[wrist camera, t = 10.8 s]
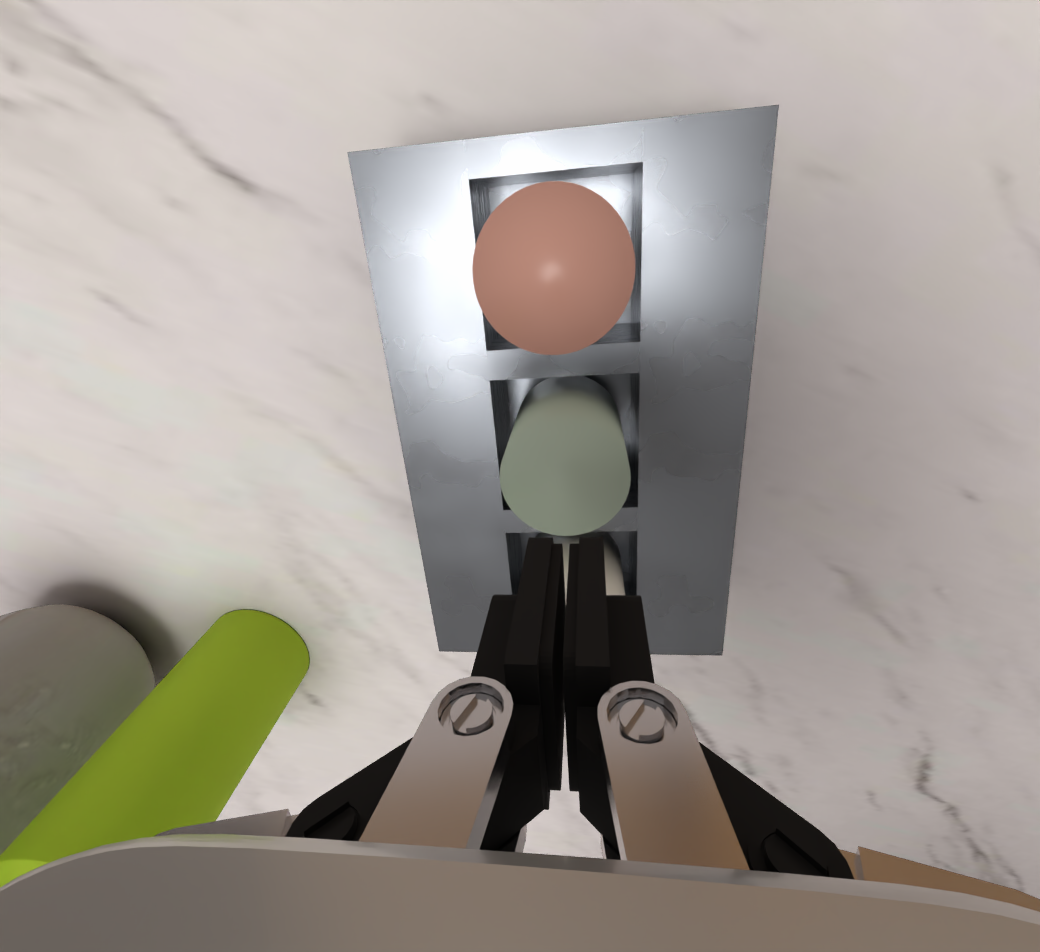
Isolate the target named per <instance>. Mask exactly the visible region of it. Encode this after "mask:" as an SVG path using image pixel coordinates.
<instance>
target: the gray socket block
mask: <svg viewBox="0 0 1040 952" xmlns="http://www.w3.org/2000/svg"><path fill="white" fill-rule="evenodd" d="M778 108H779V105H772V106H763V107H754V108H745V109H735V110H726V111H717V112H708V113H699V114H690V115H681V116H672V117H663V118H654V119H645V120H636V121H627V122H618V123H609V124H599V125H590V126H581V127H572V128H563V129H554V130H545V131H536V132H527V133H518V134H509V135H500V136H491V137H482V138H473V139H463V140H454V141H445V142H436V143H427V144H418V145H409V146H400V147H391V148H382V149H373V150H364V151H355V152H348V158H349V163H350V169H351V174H352V180H353V185H354V190H355V196H356V201H357V207H358V212H359V218H360V223H361V228H362V234H363V239H364V245H365V250H366V256H367V261H368V266H369V272H370V277H371V283H372V288H373V294H374V299H375V305H376V310H377V315H378V321H379V326H380V332H381V337H382V343H383V348H384V353H385V359H386V364H387V370H388V375H389V381H390V386H391V392H392V397H393V402H394V408H395V413H396V419H397V424H398V430H399V435H400V440H401V446H402V451H403V457H404V462H405V468H406V473H407V478H408V484H409V489H410V495H411V500H412V506H413V511H414V517H415V522H416V527H417V533H418V538H419V544H420V549H421V555H422V560H423V565H424V571H425V576H426V582H427V587H428V593H429V598H430V604H431V609H432V614H433V620H434V625H435V631H436V636H437V642H438V647H439V651H453V652H477V651H478V647H479V644H480V640H481V636H482V633H483V629H484V625H485V621H486V618H487V614H488V610H489V606H490V603H491V599H492V597H493V595H494V594H503V595H517V593H518V588H519V583H520V578H521V573H522V568H523V563H524V558H525V553H526V547H527V542H528V538H529V537H535V536H536V535H537V534H538V533H539V532H541V531H539V530H536V529H534V528H532V527H531V526H529V525H527V524H526V523H524V522H523V521H522V520H521V519H520V518H518V517H517V516H516V515H515V514H514V512H513V511H512V510H511V509H510V507H509V506H508V504H507V502H506V500H505V498H504V496H503V493H502V490H501V485H500V466H501V462H502V459H503V456H504V453H505V450H506V447H507V444H508V441H509V438H510V435H511V432H512V429H513V426H514V423H515V420H516V417H517V414H518V411H519V408H520V406H521V404H522V402H523V400H524V398H525V396H526V395H527V394H528V393H529V391H530V390H531V389H533V388H534V387H535V386H536V385H537V384H539V383H540V382H542V381H544V380H546V379H548V378H551V377H567V376H583V377H587V378H589V379H591V380H593V381H595V382H597V383H599V384H600V385H601V386H602V387H604V388H605V389H606V390H607V391H608V392H609V394H610V395H611V396H612V398H613V399H614V401H615V403H616V405H617V408H618V412H619V416H620V421H621V426H622V431H623V436H624V441H625V446H626V451H627V456H628V461H629V466H630V474H631V481H630V489H629V493H628V496H627V498H626V501H625V503H624V504H623V506H622V508H621V509H620V510H619V512H618V513H617V514H616V515H615V516H614V517H613V518H612V519H611V520H610V521H609V522H607V523H606V524H605V525H603V526H601V527H600V528H598V529H595V530H593V531H591V532H603V531H606V532H607V533H608V534H609V535H610V536H611V537H612V538H613V539H614V541H615V542H616V544H617V546H618V549H619V551H620V556H621V564H622V573H623V581H624V590H625V595H640V596H641V598H642V604H643V611H644V617H645V624H646V631H647V638H648V644H649V651H650V654H662V655H722V653H723V643H724V633H725V624H726V614H727V604H728V595H729V585H730V575H731V565H732V556H733V546H734V536H735V526H736V517H737V507H738V497H739V487H740V478H741V468H742V458H743V448H744V439H745V429H746V419H747V409H748V400H749V390H750V380H751V370H752V361H753V351H754V341H755V332H756V322H757V312H758V302H759V293H760V283H761V273H762V263H763V254H764V244H765V234H766V224H767V215H768V205H769V195H770V185H771V176H772V166H773V156H774V146H775V137H776V127H777V117H778ZM547 181H563V182H571V183H574V184H578V185H581V186H584V187H586V188H588V189H590V190H592V191H594V192H595V193H597V194H599V195H600V196H602V197H603V198H604V199H605V200H606V201H607V202H609V203H610V204H611V205H612V207H613V208H614V209H615V210H616V211H617V212H618V214H619V215H620V217H621V218H622V220H623V221H624V223H625V225H626V227H627V230H628V232H629V234H630V237H631V240H632V243H633V248H634V254H635V279H634V285H633V290H632V293H631V296H630V299H629V302H628V304H627V306H626V308H625V310H624V312H623V314H622V315H621V317H620V318H619V320H618V321H617V322H616V324H615V325H614V326H613V327H612V329H611V330H609V331H608V332H607V333H606V334H605V335H604V336H603V337H602V338H600V339H599V340H598V341H596V342H595V343H593V344H591V345H590V346H588V347H586V348H583V349H581V350H578V351H576V352H572V353H568V354H561V355H543V354H536V353H533V352H529V351H526V350H524V349H521V348H519V347H517V346H515V345H514V344H512V343H510V342H509V341H507V340H506V339H505V338H504V337H502V336H501V335H500V334H499V333H498V332H497V331H496V330H495V329H494V328H493V327H492V325H491V324H490V323H489V321H488V320H487V318H486V317H485V315H484V313H483V312H482V310H481V307H480V305H479V303H478V300H477V297H476V293H475V290H474V284H473V273H472V265H473V255H474V250H475V246H476V242H477V239H478V236H479V234H480V232H481V230H482V228H483V225H484V224H485V222H486V221H487V219H488V218H489V216H490V215H491V213H492V212H493V211H494V210H495V209H496V207H497V206H498V205H499V204H501V203H502V202H503V201H504V200H505V199H506V198H507V197H509V196H510V195H512V194H513V193H515V192H516V191H518V190H520V189H523V188H525V187H527V186H530V185H533V184H536V183H541V182H547Z"/></svg>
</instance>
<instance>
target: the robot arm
mask: <svg viewBox="0 0 1040 952" xmlns="http://www.w3.org/2000/svg"><path fill="white" fill-rule="evenodd" d="M564 717H565V720H566V737H567V755H568V772H569V788H570V791H578V792H579V800H580V812H581V813H582V814H583V815H584V817H585V818H586V819H587V820H588V821H589V822H590V823H591V824H592V825H593V826H594V827H595V828H596V829H597V830H598V831H599V832H600V833H601V849H602V855H603V859H599V858H586V857H572V856H559V855H545V854H532V853H523V849H524V845H525V841H526V832H527V825H526V824H527V823H529V822H530V821H531V820H532V819H533V818H534V817H536V816H537V815H538V814H539V813H540V812H541V811H543V810H544V809H545V810H549V800H550V790H561V778H562V758H563V737H564ZM0 952H1040V899H1038V898H1035V897H1033V896H1030V895H1028V894H1025V893H1023V892H1021V891H1018V890H1016V889H1012V888H1008V887H1005V886H1001V885H997V884H994V883H990V882H987V881H983V880H979V879H976V878H972V877H968V876H965V875H961V874H957V873H954V872H950V871H947V870H943V869H939V868H936V867H932V866H928V865H925V864H921V863H917V862H914V861H910V860H906V859H903V858H899V857H896V856H892V855H888V854H885V853H881V852H877V851H874V850H870V849H866V848H863V847H859V846H858V849H857V853H856V854H855V853H851V852H848V851H844V850H840V849H838V848H837V847H836V845H835V844H834V843H833V842H832V841H831V840H830V839H828V838H827V837H826V836H825V835H824V834H823V833H822V832H821V831H820V830H818V829H817V828H816V827H814V826H813V825H812V824H810V823H809V822H807V821H806V820H805V819H803V818H802V817H801V816H799V815H798V814H797V813H795V812H794V811H793V810H791V809H790V808H788V807H787V806H786V805H784V804H783V803H782V802H780V801H779V800H778V799H776V798H775V797H773V796H772V795H771V794H769V793H768V792H767V791H765V790H764V789H763V788H761V787H760V786H758V785H757V784H756V783H754V782H753V781H752V780H750V779H749V778H748V777H746V776H745V775H743V774H742V773H741V772H739V771H738V770H737V769H735V768H734V767H733V766H731V765H730V764H728V763H727V762H726V761H724V760H723V759H722V758H720V757H719V756H718V755H716V754H715V753H714V752H712V751H711V750H709V749H708V748H707V747H705V746H704V745H703V744H701V743H700V742H699V741H698V739H697V736H696V734H695V731H694V729H693V726H692V724H691V721H690V719H689V716H688V714H687V711H686V709H685V708H684V706H683V704H682V703H681V701H680V700H679V699H678V698H677V697H676V696H675V695H674V694H673V693H672V692H671V691H669V690H667V689H665V688H663V687H661V686H660V685H657V684H654V678H653V671H652V664H651V658H650V651H649V644H648V638H647V631H646V624H645V617H644V611H643V604H642V598H641V596H640V595H606V579H605V560H604V541H603V537H579V543H570V546H569V563H568V579H567V596H566V601H565V582H564V562H563V546H562V544H554V542H553V537H529V538H528V542H527V547H526V553H525V558H524V563H523V568H522V573H521V578H520V583H519V588H518V593H517V595H503V594H494V595H493V597H492V599H491V603H490V606H489V610H488V614H487V618H486V621H485V625H484V629H483V633H482V636H481V640H480V644H479V647H478V651H477V655H476V659H475V662H474V666H473V670H472V674H471V677H467V678H463V679H459V680H457V681H455V682H453V683H450V684H448V685H447V686H446V687H445V688H443V689H442V690H441V691H440V692H439V693H438V694H437V695H436V697H435V698H434V699H433V701H432V702H431V704H430V706H429V708H428V710H427V712H426V714H425V716H424V718H423V719H422V721H421V723H420V725H419V727H418V729H417V731H416V733H415V735H414V737H413V738H411V739H409V740H408V741H406V742H405V743H403V744H402V745H400V746H398V747H397V748H395V749H394V750H392V751H391V752H389V753H388V754H386V755H384V756H383V757H381V758H380V759H378V760H377V761H375V762H373V763H372V764H370V765H369V766H367V767H366V768H364V769H362V770H361V771H359V772H358V773H356V774H355V775H353V776H352V777H350V778H348V779H347V780H345V781H344V782H342V783H341V784H339V785H337V786H336V787H334V788H333V789H331V790H330V791H328V792H326V793H325V794H323V795H322V796H320V797H319V798H317V799H316V800H315V801H313V802H312V803H311V804H309V805H308V806H307V807H306V808H304V809H303V810H302V812H301V813H300V814H298V815H292V816H291V815H290V812H289V809H284V810H278V811H273V812H267V813H261V814H255V815H249V816H243V817H237V818H231V819H225V820H220V821H214V822H208V823H202V824H196V825H190V826H184V827H178V828H174V829H171V830H168V831H165V832H162V833H159V834H157V835H155V836H154V837H145V838H138V839H132V840H127V841H122V842H117V843H111V844H106V845H102V846H99V847H96V848H92V849H89V850H86V851H83V852H79V853H76V854H73V855H70V856H66V857H63V858H60V859H57V860H55V861H52V862H50V863H47V864H45V865H43V866H40V867H38V868H36V869H34V870H31V871H29V872H27V873H25V874H23V875H21V876H19V877H17V878H15V879H13V880H12V881H10V882H9V883H7V884H5V885H4V886H2V887H0Z"/></svg>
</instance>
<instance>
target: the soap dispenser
mask: <svg viewBox="0 0 1040 952" xmlns="http://www.w3.org/2000/svg"><path fill="white" fill-rule="evenodd" d="M308 667H309V654H308V650H307V647H306V645H305V643H304V642H303V640H302V639H301V637H300V636H299V635H298V634H297V632H296V631H295V630H294V629H292V628H291V627H290V626H289V625H288V624H286V623H285V622H283V621H282V620H280V619H278V618H276V617H274V616H272V615H269V614H267V613H264V612H260V611H255V610H237V611H232V612H229V613H227V614H225V615H223V616H222V617H220V618H219V619H218V620H217V621H216V622H215V623H214V624H213V625H212V626H211V627H210V629H209V630H208V631H207V632H206V633H205V634H204V635H203V636H202V637H201V638H200V639H199V640H198V642H197V643H196V644H195V645H194V646H193V647H192V648H191V649H190V650H189V651H188V652H187V653H186V655H185V656H184V657H183V658H182V659H181V660H180V661H179V662H178V663H177V664H176V665H175V666H174V668H173V669H172V670H171V671H170V672H169V673H168V674H167V675H166V676H165V677H164V678H163V680H162V681H161V682H160V683H159V684H158V685H157V686H156V687H155V688H154V689H153V690H152V691H151V693H150V694H149V695H148V696H147V697H146V698H145V699H144V700H143V701H142V702H141V703H140V704H139V706H138V707H137V708H136V709H135V710H134V711H133V712H132V713H131V714H130V715H129V716H128V717H127V719H126V720H125V721H124V722H123V723H122V724H121V725H120V726H119V727H118V728H117V729H116V730H115V732H114V733H113V734H112V735H111V736H110V737H109V738H108V739H107V740H106V741H105V742H104V743H103V745H102V746H101V747H100V748H99V749H98V750H97V751H96V752H95V753H94V754H93V755H92V756H91V758H90V759H89V760H88V761H87V762H86V763H85V764H84V765H83V766H82V767H81V768H80V769H79V771H78V772H77V773H76V774H75V775H74V776H73V777H72V778H71V779H70V780H69V781H68V783H67V784H66V785H65V786H64V787H63V788H62V789H61V790H60V791H59V792H58V793H57V794H56V796H55V797H54V798H53V799H52V800H51V801H50V802H49V803H48V804H47V805H46V806H45V807H44V809H43V810H42V811H41V812H40V813H39V814H38V815H37V816H36V817H35V818H34V819H33V820H32V822H31V823H30V824H29V825H28V826H27V827H26V828H25V829H24V830H23V831H22V832H21V833H20V835H19V836H18V837H17V838H16V839H15V840H14V841H13V842H12V843H11V844H10V845H9V846H8V848H7V849H6V850H5V851H4V852H3V853H2V854H1V855H0V887H2V886H4V885H5V884H7V883H9V882H10V881H12V880H13V879H15V878H17V877H19V876H21V875H23V874H25V873H27V872H29V871H31V870H34V869H36V868H38V867H40V866H43V865H45V864H47V863H50V862H52V861H55V860H57V859H60V858H63V857H66V856H70V855H73V854H76V853H79V852H83V851H86V850H89V849H92V848H96V847H99V846H102V845H106V844H111V843H117V842H122V841H127V840H132V839H138V838H145V837H154V836H155V835H157V834H159V833H162V832H165V831H168V830H171V829H174V828H178V827H184V826H190V825H196V824H202V823H208V822H214V821H216V819H217V818H218V816H219V814H220V813H221V811H222V810H223V808H224V806H225V805H226V803H227V801H228V800H229V798H230V797H231V795H232V793H233V792H234V790H235V788H236V787H237V785H238V784H239V782H240V780H241V779H242V777H243V775H244V774H245V772H246V770H247V769H248V767H249V766H250V764H251V762H252V761H253V759H254V757H255V756H256V754H257V753H258V751H259V749H260V748H261V746H262V744H263V743H264V741H265V740H266V738H267V736H268V735H269V733H270V731H271V730H272V728H273V727H274V725H275V723H276V722H277V720H278V718H279V717H280V715H281V714H282V712H283V710H284V709H285V707H286V705H287V704H288V702H289V701H290V699H291V697H292V696H293V694H294V692H295V691H296V689H297V687H298V686H299V684H300V683H301V681H302V679H303V678H304V676H305V674H306V673H307V670H308Z"/></svg>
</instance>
